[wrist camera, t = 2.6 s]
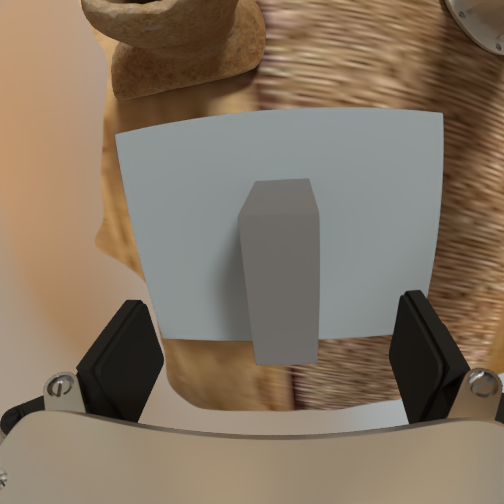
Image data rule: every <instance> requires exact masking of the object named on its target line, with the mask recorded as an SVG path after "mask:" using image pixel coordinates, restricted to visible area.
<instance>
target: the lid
mask: <svg viewBox="0 0 504 504" xmlns="http://www.w3.org/2000/svg"><path fill="white" fill-rule="evenodd" d="M115 139H116V145H117V152H118V158H119V164H120V170H121V175H122V181H123V186H124V191H125V196H126V201H127V206H128V211H129V215H130V220H131V224H132V229H133V233H134V237H135V241H136V246H137V250H138V254H139V258H140V261H141V265H142V269H143V273H144V276H145V280H146V284H147V287H148V291H149V294H150V298H151V301H152V304H153V308H154V311H155V314H156V318H157V321H158V324H159V327H160V330H161V333H162V336H163V338H169V339H189V340H218V341H253V347H254V355H255V363H256V365H302V364H317V362H318V340H320V339H339V338H355V337H369V336H381V335H391V334H393V331H394V326H395V321H396V315H397V310H398V304H399V298H400V296H401V295H404V293H405V291H410V290H421V291H422V292H423V294H424V295H425V297H426V298H427V295H428V290H429V285H430V280H431V274H432V269H433V263H434V257H435V250H436V243H437V235H438V227H439V218H440V208H441V196H442V180H443V147H444V137H443V113H437V112H428V111H417V110H404V109H388V108H361V107H322V108H294V109H277V110H264V111H252V112H242V113H233V114H225V115H217V116H209V117H202V118H196V119H189V120H183V121H177V122H172V123H166V124H161V125H156V126H151V127H146V128H141V129H137V130H132V131H128V132H123V133H119V134H115Z"/></svg>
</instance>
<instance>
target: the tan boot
mask: <svg viewBox="0 0 504 504" xmlns="http://www.w3.org/2000/svg"><path fill="white" fill-rule="evenodd" d="M81 4H82V9H83V12H84V14H85V16H86V18H87V20H88V21H89V22H90V23H91V25H92V26H93V27H94V28H95V29H97V30H98V31H100V32H101V33H103V34H104V35H106V36H108V37H110V38H113V39H115V40H118V41H120V42H119V44H118V45H117V46H116V49H115V53H114V55H113V58H112V67H111V73H112V87H113V92H114V95H115V96H116V98H117V99H119V100H120V101H125V100H130V99H134V98H138V97H142V96H148V95H152V94H157V93H161V92H164V91H168V90H172V89H177V88H183V87H188V86H192V85H197V84H202V83H206V82H210V81H215V80H220V79H224V78H229V77H233V76H237V75H240V74H242V73H245V72H248V71H250V70H252V69H254V68H255V67H256V66H257V65H258V64H259V63H260V61H261V59H262V57H263V54H264V49H265V41H266V29H265V23H264V19H263V16H262V13H261V10H260V8H259V6H258V5H257V4H256V3H255V2H254V1H253V0H81Z"/></svg>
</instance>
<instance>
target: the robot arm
mask: <svg viewBox="0 0 504 504" xmlns="http://www.w3.org/2000/svg"><path fill="white" fill-rule="evenodd" d="M444 1H445V3H446V6H447V8H448V10H449V11H450V13H451V15H452V17H453V18H454V19H455V21H456V22H457V24H458V25H459V26H460V28H461V29H462V30H463V31H464V32H465V33H466V35H468V36H469V37H470V38H471V39H472V40H473V41H474V42H475V43H476V44H478V45H479V46H480V47H482V48H483V49H485V50H487V51H489V52H491V53H493V54H496V55H501V56H504V0H444ZM389 360H390V364H391V367H392V370H393V373H394V376H395V379H396V382H397V385H398V388H399V391H400V395H401V398H402V401H403V404H404V408H405V411H406V415H407V418H408V422H409V424H408V425H402V426H395V427H388V428H380V429H372V430H363V431H354V432H343V433H331V434H317V435H316V434H315V435H238V434H221V433H210V432H199V431H189V430H181V429H173V428H165V427H158V426H152V425H146V424H140V423H138V420H139V418H140V416H141V413H142V411H143V409H144V407H145V404H146V402H147V400H148V397H149V395H150V393H151V391H152V388H153V386H154V384H155V382H156V380H157V377H158V375H159V373H160V371H161V369H162V366H163V364H164V356H163V353H162V351H161V347H160V345H159V342H158V339H157V336H156V333H155V329H154V326H153V323H152V320H151V317H150V314H149V310H148V307H147V305H146V304H143V302H142V301H141V300H126V301H125V302H124V304H123V305H122V306H121V308H120V309H119V310H118V311H117V313H116V314H115V315H114V317H113V318H112V319H111V321H110V322H109V323H108V325H107V326H106V327H105V329H104V330H103V331H102V333H101V334H100V335H99V337H98V338H97V339H96V341H95V342H94V343H93V345H92V346H91V348H90V349H89V350H88V352H87V353H86V354H85V356H84V357H83V359H82V360H81V361H80V363H79V364H78V366H77V367H76V369H77V370H78V373H77V374H76V375H74V374H73V373H71V372H61V373H58V374H55V375H54V376H52V377H51V378H49V380H48V381H47V382H46V384H45V386H44V391H43V392H44V395H43V396H40V397H38V398H36V399H34V400H31V401H28V402H26V403H23V404H21V405H18V406H15V407H13V408H11V409H9V410H8V411H6V412H5V413H4V415H3V416H2V418H1V421H0V504H504V393H502V387H503V385H502V382H501V380H500V378H499V377H498V375H497V374H495V373H494V372H493V371H491V370H489V369H485V368H475V369H472V370H471V369H470V367H469V366H468V364H467V362H466V360H465V358H464V357H463V355H462V353H461V351H460V350H459V348H458V346H457V344H456V343H455V341H454V339H453V338H452V336H451V334H450V333H449V331H448V329H447V328H446V326H445V325H444V324H443V323H442V322H441V320H440V319H439V317H438V315H437V314H436V312H435V311H434V309H433V308H432V306H431V304H430V303H429V301H428V300H427V298H426V297H425V295H424V294H423V292H422V291H421V290H410V291H405V293H404V295H401V296H400V298H399V304H398V310H397V315H396V321H395V326H394V331H393V336H392V341H391V345H390V350H389Z"/></svg>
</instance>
